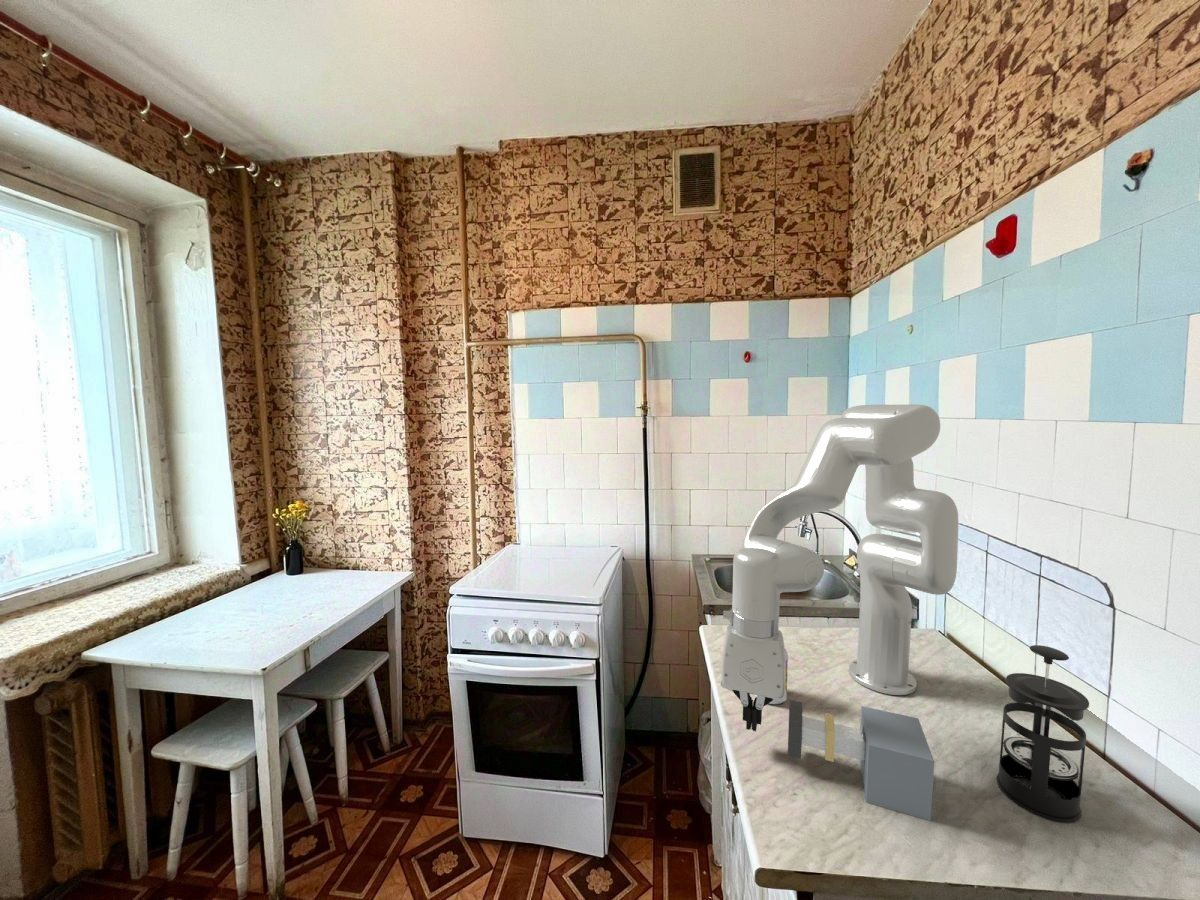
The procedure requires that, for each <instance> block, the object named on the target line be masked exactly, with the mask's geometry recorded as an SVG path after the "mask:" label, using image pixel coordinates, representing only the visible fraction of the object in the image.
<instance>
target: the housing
mask: <svg viewBox="0 0 1200 900" xmlns="http://www.w3.org/2000/svg"><path fill="white" fill-rule="evenodd" d="M860 707H861V709H860V729H859V730H864V731H865V736H866V749H865V761H863V760H860V759H858V760H859V765H860V771H861V772H860V773H861V779H862V785H863V790H864V791H863V792H864V797H865V802H866V803H868V804H871V805H875V806H878V807H881V808H885V809H889V810H892V811H894V812H898V813H902V814H906V815H909V816H913V817H915V818H916V817H917V818H920V819H923V820H926V821H930V822H931V818H932V804H933V802H932V801H933V787H934V771H935V759H934V757H933V754H932V751H931V749H930V746H929V743H928V741H927V738H926V736H925V732H924V730H923V728H922V727H923V726H922V725H921V722H920V720H919V717H913V716H908V715H904V714H900V713H894V712H891V711H887V710H881V709H877V708H872V707H868V706H863V705H861V706H860Z"/></svg>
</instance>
